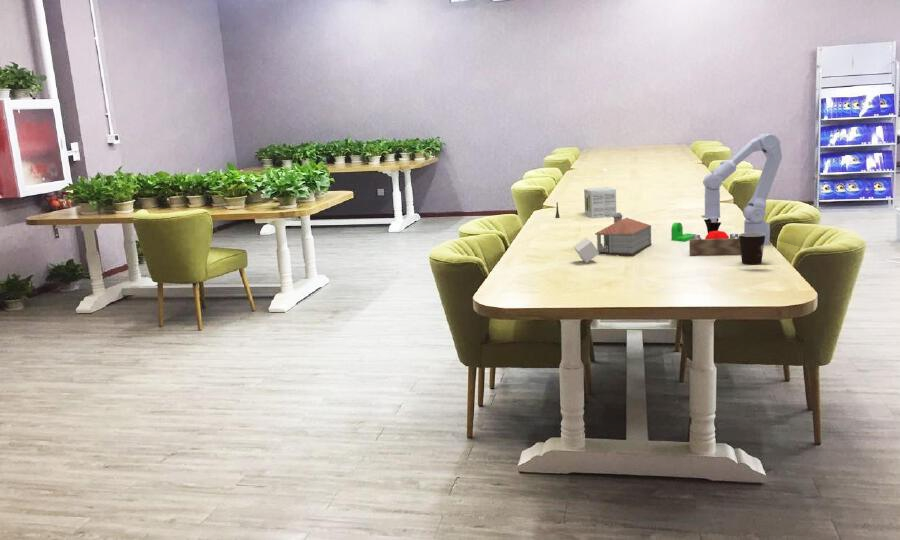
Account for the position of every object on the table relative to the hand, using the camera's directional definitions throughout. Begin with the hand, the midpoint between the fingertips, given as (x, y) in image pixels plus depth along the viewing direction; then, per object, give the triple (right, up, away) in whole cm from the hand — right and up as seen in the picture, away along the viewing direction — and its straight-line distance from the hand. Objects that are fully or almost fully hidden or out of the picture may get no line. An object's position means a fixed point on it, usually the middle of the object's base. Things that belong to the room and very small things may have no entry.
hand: (712, 238), depth 306 cm
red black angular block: (-3, -6, -13) cm, 14 cm away
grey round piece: (-4, -6, -14) cm, 16 cm away
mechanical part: (-6, -1, +17) cm, 18 cm away
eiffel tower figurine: (-50, +10, +87) cm, 101 cm away
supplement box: (-28, +11, +86) cm, 91 cm away
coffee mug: (+2, -10, -38) cm, 40 cm away
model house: (-35, -5, +2) cm, 36 cm away
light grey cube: (-54, -10, -17) cm, 57 cm away
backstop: (-5, -7, -20) cm, 22 cm away
